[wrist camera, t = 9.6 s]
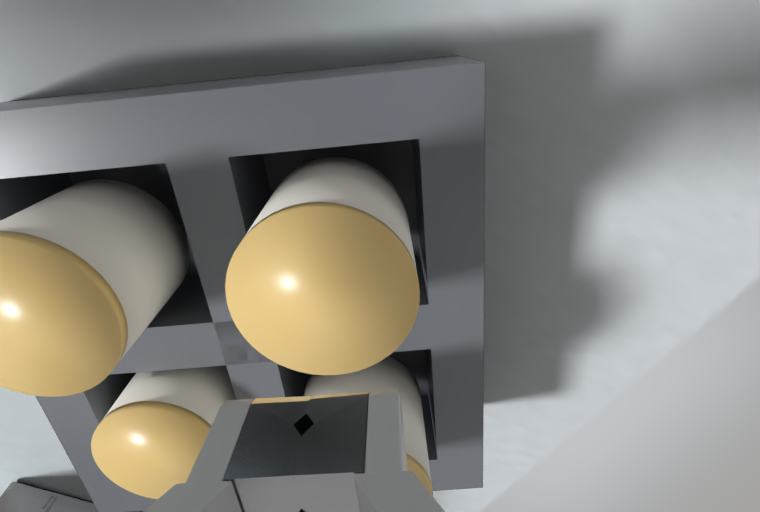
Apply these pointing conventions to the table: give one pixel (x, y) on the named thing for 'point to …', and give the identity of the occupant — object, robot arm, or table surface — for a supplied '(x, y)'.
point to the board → (247, 199)
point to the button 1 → (83, 283)
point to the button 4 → (386, 378)
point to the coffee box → (40, 501)
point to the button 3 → (326, 270)
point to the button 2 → (159, 427)
